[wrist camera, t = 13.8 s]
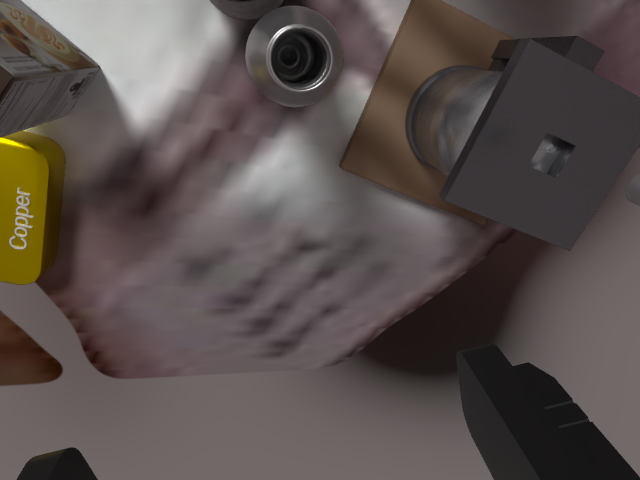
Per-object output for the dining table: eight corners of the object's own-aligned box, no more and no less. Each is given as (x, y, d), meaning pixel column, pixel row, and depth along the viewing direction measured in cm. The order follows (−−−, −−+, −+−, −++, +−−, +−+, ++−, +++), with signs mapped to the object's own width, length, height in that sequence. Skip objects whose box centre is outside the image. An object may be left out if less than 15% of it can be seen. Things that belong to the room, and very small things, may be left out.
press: (445, 21, 42) (549, 3, 26) (538, 69, 45) (683, 78, 29) (385, 150, 46) (444, 200, 31) (473, 187, 49) (569, 251, 33)
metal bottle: (320, 93, 45) (355, 121, 27) (252, 89, 44) (240, 115, 26) (324, 22, 43) (366, -1, 24) (253, 16, 42) (240, -11, 23)
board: (415, -9, 42) (420, -11, 41) (564, 69, 47) (573, 70, 45) (339, 165, 48) (341, 168, 47) (478, 220, 52) (483, 225, 51)
